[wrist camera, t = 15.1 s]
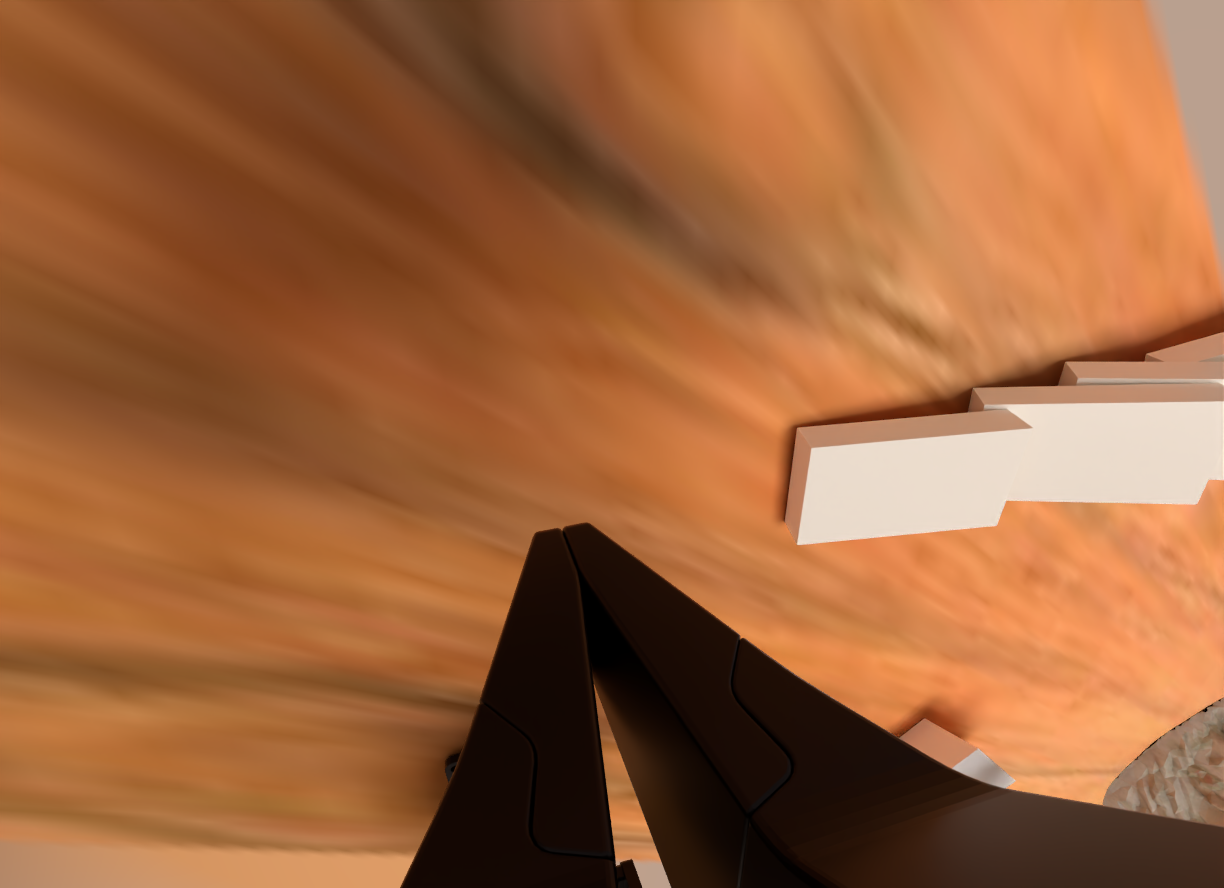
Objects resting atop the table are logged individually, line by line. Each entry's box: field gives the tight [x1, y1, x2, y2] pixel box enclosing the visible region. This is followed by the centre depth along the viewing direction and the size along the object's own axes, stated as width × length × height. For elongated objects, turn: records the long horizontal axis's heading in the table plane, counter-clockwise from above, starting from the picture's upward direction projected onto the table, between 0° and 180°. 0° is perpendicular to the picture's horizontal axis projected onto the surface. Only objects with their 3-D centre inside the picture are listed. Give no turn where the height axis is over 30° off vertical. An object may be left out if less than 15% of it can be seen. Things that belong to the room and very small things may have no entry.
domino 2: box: [968, 383, 1224, 504], centre depth 26 cm, size 5×2×9 cm
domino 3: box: [1058, 362, 1224, 480], centre depth 26 cm, size 5×2×9 cm
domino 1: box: [785, 409, 1033, 545], centre depth 25 cm, size 5×2×9 cm
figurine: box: [899, 718, 1015, 788], centre depth 34 cm, size 7×9×15 cm
